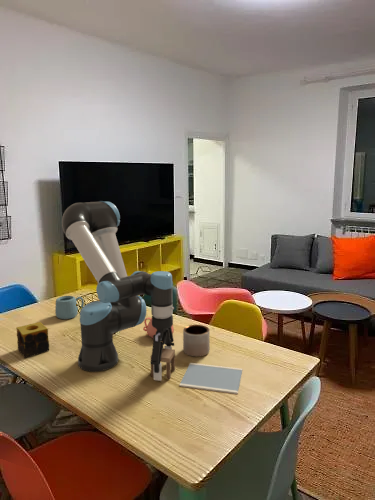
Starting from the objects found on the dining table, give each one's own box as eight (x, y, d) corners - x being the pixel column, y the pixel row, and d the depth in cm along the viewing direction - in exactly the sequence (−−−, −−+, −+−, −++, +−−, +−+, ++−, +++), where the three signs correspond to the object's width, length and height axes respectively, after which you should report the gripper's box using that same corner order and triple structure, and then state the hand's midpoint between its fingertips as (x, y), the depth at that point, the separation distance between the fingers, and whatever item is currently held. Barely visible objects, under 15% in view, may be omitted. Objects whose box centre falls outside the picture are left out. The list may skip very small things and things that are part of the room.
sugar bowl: (170, 342, 163) (170, 320, 161) (139, 340, 166) (139, 318, 164) (176, 331, 175) (176, 310, 173) (147, 329, 178) (146, 308, 176)
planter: (207, 358, 149) (207, 336, 147) (180, 356, 151) (180, 333, 149) (211, 346, 159) (211, 325, 158) (186, 344, 162) (186, 323, 160)
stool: (151, 376, 136) (150, 356, 134) (157, 367, 142) (156, 347, 141) (169, 379, 134) (169, 358, 132) (175, 369, 141) (174, 349, 139)
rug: (179, 386, 130) (179, 384, 130) (190, 363, 145) (190, 362, 145) (237, 393, 125) (237, 392, 125) (242, 370, 140) (242, 368, 140)
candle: (24, 358, 150) (22, 335, 148) (17, 349, 157) (14, 327, 155) (50, 351, 156) (48, 328, 154) (41, 343, 164) (40, 321, 162)
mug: (79, 309, 204) (78, 291, 202) (88, 315, 196) (87, 296, 194) (52, 316, 195) (51, 297, 193) (60, 322, 186) (59, 303, 184)
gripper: (161, 329, 121) (162, 390, 125) (181, 304, 145) (181, 356, 149) (140, 327, 123) (141, 387, 127) (162, 303, 146) (163, 354, 150)
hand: (163, 370), depth 138 cm, fingers open, 12 cm apart
